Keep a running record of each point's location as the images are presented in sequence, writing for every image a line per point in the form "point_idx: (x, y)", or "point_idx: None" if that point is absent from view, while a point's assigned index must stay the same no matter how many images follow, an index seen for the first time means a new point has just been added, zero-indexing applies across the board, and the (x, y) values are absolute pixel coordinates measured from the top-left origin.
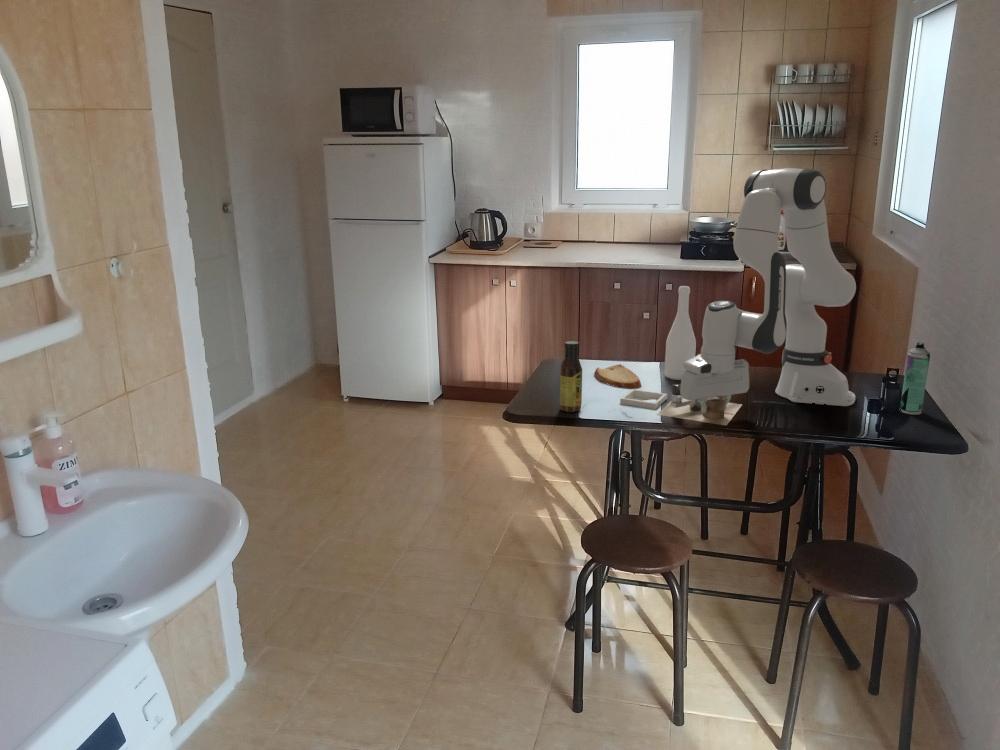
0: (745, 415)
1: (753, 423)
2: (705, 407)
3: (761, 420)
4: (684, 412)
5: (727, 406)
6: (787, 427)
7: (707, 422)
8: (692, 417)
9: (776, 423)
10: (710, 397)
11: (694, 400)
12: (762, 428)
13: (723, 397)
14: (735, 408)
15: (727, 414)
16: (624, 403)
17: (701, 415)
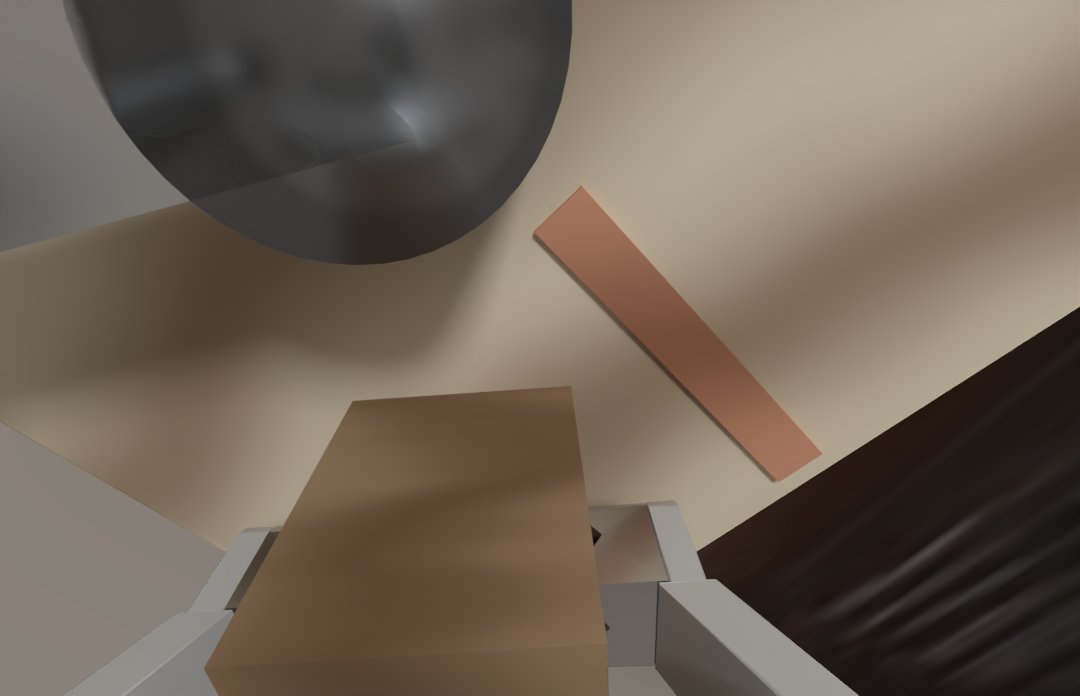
0: (1035, 347)
1: (865, 565)
2: None
3: (1018, 523)
4: None
5: (1054, 119)
6: (1027, 690)
7: None
8: (171, 423)
9: (1052, 612)
10: (419, 659)
11: (166, 203)
12: (823, 665)
13: (761, 683)
14: (1060, 268)
15: (722, 454)
16: None
17: (338, 392)
